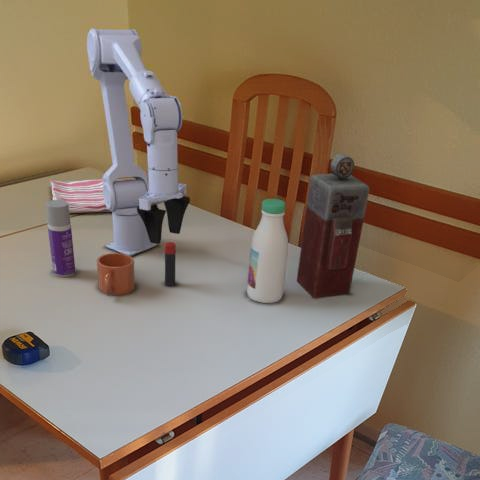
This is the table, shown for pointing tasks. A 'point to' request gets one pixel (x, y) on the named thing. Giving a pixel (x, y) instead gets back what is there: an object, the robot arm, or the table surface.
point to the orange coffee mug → (116, 273)
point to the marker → (170, 263)
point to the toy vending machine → (332, 230)
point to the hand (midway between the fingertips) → (165, 237)
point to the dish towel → (80, 195)
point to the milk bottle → (268, 254)
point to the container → (60, 238)
